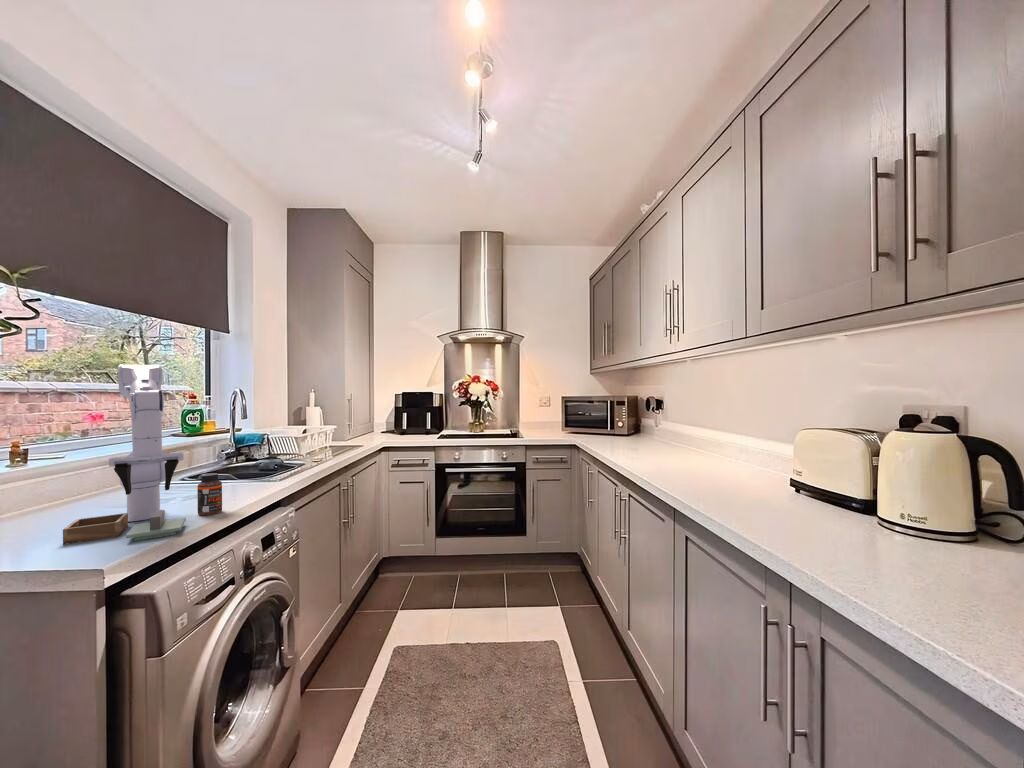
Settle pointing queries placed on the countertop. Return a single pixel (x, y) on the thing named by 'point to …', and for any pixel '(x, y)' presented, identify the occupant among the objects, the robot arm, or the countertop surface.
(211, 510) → the supplement bottle
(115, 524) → the box
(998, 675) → the countertop surface
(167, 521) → the lid
